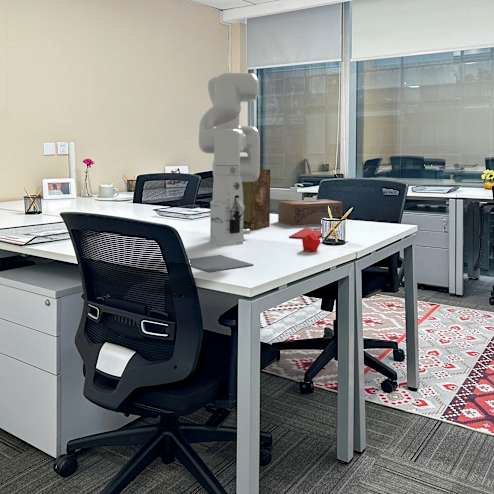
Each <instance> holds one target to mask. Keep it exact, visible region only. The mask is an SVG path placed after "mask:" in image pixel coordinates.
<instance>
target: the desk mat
mask: <svg viewBox="0 0 494 494" xmlns="http://www.w3.org/2000/svg"><path fill="white" fill-rule="evenodd" d="M188 259H189V260H190V264H191V266H190V267H192V268H195V267H196V269H198V270H201V271H203V272H207V273H214V271H215V272H219V271H227V270H234V269H239V268H241V269H242V268H247V267H253V266H254V263H249V262H246V261H243V260H239V259H236V258H232V257H229V256H227V255H221V254H216V255H209V256H208V255H207V256H201V257H195V258H193V257H192V258H188Z"/></svg>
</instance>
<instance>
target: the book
mask: <svg viewBox="0 0 494 494" xmlns="http://www.w3.org/2000/svg"><path fill="white" fill-rule="evenodd" d="M242 188H243V203H244V206H245V209H244V211H243V230H245V229H250V231H255V230H260V229H263V228H268V227H270V223H271V222H270V221H271V220H270V219H271V218H270V217H271V212H270V210H271V169H269V168H268V169H266V168H265V169H263V168H262V169H261V168H260V173H259V178H258V180H256V181H254V182H242Z"/></svg>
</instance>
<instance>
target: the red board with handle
mask: <svg viewBox="0 0 494 494" xmlns="http://www.w3.org/2000/svg"><path fill="white" fill-rule="evenodd" d="M321 227H322V226H319V227H318V226H315V227H312V228H311V227H303V228H302V229H300V230H299V231H297V232H295V233H294V234H291V235H289V236H288V238H289V239H296V240H302V238H303V237H305V236H307V235H309V234H311V233H313V234H314V235H315V236H316V237H317V238H318V239H319V240H320V239H321V237H322V233H321ZM322 238H323V237H322Z"/></svg>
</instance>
